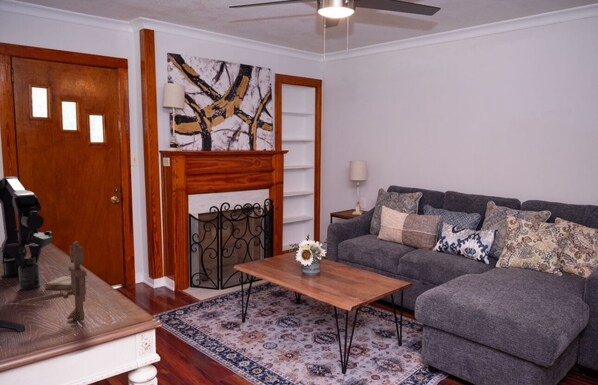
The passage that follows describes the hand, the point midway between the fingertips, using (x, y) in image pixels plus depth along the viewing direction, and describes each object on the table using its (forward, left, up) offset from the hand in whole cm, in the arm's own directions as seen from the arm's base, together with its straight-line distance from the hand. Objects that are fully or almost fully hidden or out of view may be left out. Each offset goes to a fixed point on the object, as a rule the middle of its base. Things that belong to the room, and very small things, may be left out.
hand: (29, 266), depth 168 cm
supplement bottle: (0, 0, -9) cm, 9 cm away
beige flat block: (+12, +4, -9) cm, 16 cm away
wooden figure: (+34, -31, -9) cm, 47 cm away
